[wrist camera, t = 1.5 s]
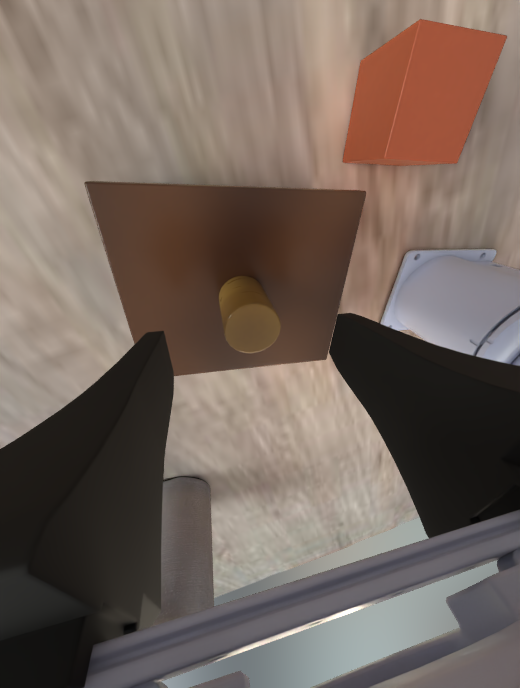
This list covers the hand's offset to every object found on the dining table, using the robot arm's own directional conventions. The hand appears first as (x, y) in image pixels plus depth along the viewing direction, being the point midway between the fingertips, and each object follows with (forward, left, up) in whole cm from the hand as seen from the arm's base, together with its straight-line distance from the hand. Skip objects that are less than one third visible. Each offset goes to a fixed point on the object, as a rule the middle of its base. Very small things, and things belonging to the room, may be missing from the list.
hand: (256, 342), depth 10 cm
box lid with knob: (0, 0, -6) cm, 6 cm away
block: (-10, -9, -11) cm, 17 cm away
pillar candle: (+9, +33, -11) cm, 36 cm away
